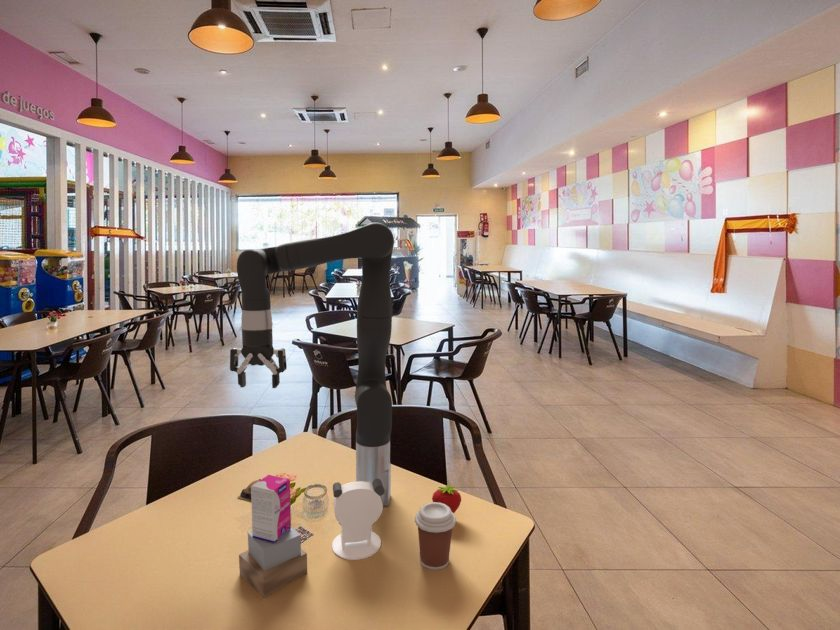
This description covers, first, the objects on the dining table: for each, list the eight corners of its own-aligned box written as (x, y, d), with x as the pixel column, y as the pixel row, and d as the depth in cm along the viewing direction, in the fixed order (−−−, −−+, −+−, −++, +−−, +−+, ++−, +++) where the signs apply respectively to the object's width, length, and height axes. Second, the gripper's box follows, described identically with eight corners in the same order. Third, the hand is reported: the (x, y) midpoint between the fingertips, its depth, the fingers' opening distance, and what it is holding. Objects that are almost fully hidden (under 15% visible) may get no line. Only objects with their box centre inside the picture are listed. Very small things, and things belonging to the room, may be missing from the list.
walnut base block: (239, 576, 101) (238, 554, 100) (281, 554, 108) (280, 534, 108) (264, 599, 94) (264, 576, 94) (307, 574, 102) (306, 553, 101)
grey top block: (248, 552, 101) (247, 532, 101) (283, 537, 107) (283, 518, 106) (264, 571, 95) (263, 550, 95) (301, 554, 101) (300, 534, 100)
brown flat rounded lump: (259, 506, 129) (258, 493, 128) (234, 500, 132) (233, 487, 131) (283, 487, 139) (283, 476, 138) (260, 482, 142) (259, 470, 141)
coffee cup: (459, 552, 109) (460, 503, 108) (448, 578, 101) (449, 525, 99) (421, 544, 112) (422, 496, 111) (408, 568, 104) (408, 517, 102)
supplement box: (275, 544, 97) (272, 490, 95) (251, 538, 99) (248, 486, 97) (292, 528, 102) (290, 477, 100) (269, 523, 104) (267, 473, 103)
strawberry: (431, 511, 126) (431, 476, 125) (459, 512, 126) (460, 476, 125) (432, 524, 120) (432, 487, 119) (461, 524, 120) (463, 487, 119)
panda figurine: (379, 527, 119) (379, 470, 117) (387, 555, 108) (387, 493, 106) (330, 533, 116) (329, 475, 114) (333, 563, 105) (332, 499, 103)
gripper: (223, 328, 121) (226, 390, 123) (279, 329, 120) (281, 391, 122) (235, 323, 128) (238, 382, 130) (288, 324, 128) (290, 383, 130)
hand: (259, 387), depth 126 cm, fingers open, 8 cm apart
